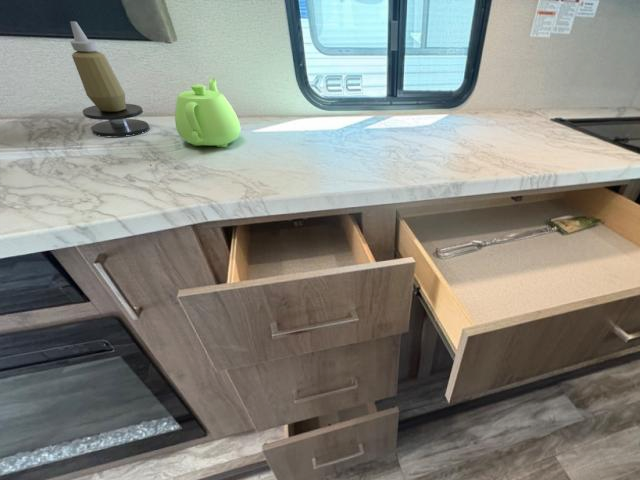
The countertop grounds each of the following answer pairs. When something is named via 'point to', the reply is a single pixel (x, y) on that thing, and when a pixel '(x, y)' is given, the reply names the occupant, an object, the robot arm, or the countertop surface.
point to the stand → (117, 121)
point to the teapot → (206, 117)
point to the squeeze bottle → (96, 73)
